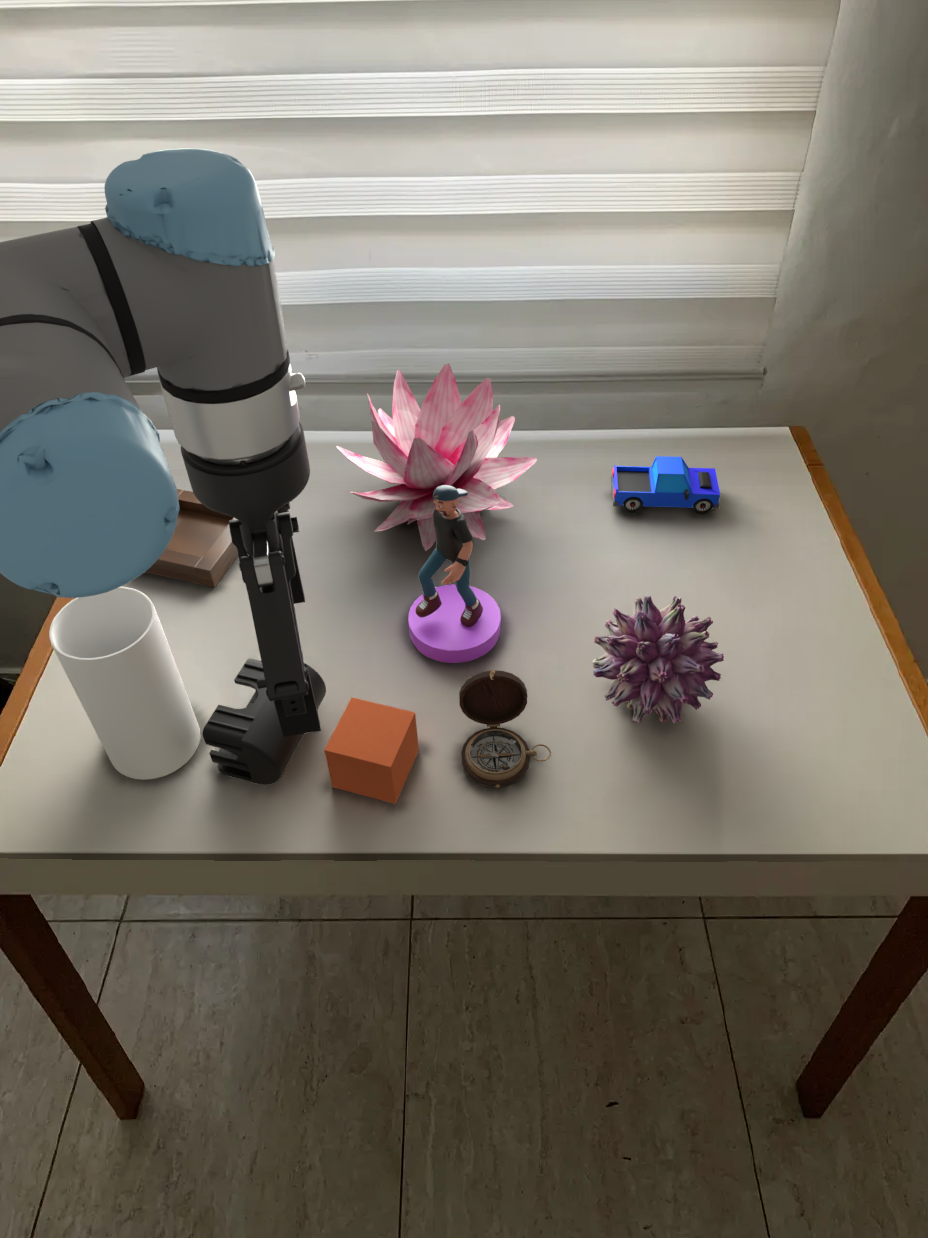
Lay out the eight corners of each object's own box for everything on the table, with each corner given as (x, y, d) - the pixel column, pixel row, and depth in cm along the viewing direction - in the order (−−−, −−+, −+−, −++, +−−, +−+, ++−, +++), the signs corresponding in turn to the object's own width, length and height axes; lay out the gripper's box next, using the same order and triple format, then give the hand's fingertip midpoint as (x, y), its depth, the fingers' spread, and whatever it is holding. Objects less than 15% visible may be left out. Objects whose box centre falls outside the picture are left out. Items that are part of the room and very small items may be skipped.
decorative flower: (403, 440, 117) (394, 331, 106) (558, 483, 110) (565, 371, 99) (311, 539, 103) (290, 426, 93) (480, 595, 96) (479, 480, 86)
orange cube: (395, 804, 79) (390, 767, 75) (331, 787, 80) (323, 750, 76) (419, 750, 83) (415, 712, 79) (357, 734, 84) (351, 696, 80)
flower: (689, 767, 83) (564, 725, 83) (702, 667, 90) (588, 629, 91) (741, 697, 74) (600, 651, 74) (750, 592, 81) (623, 551, 82)
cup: (213, 713, 86) (171, 591, 75) (179, 785, 80) (128, 666, 69) (132, 702, 87) (78, 581, 76) (93, 773, 82) (29, 653, 70)
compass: (462, 792, 79) (461, 741, 74) (459, 720, 85) (458, 668, 80) (554, 788, 79) (558, 737, 74) (545, 716, 85) (549, 664, 80)
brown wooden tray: (214, 587, 98) (209, 570, 96) (121, 567, 101) (114, 550, 99) (263, 521, 106) (259, 504, 104) (175, 503, 108) (170, 487, 107)
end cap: (286, 797, 79) (273, 751, 75) (214, 777, 81) (196, 731, 76) (331, 710, 86) (322, 663, 81) (264, 694, 88) (250, 646, 83)
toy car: (717, 519, 104) (725, 484, 101) (612, 516, 105) (616, 481, 102) (711, 484, 109) (718, 449, 105) (610, 481, 110) (614, 447, 106)
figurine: (391, 624, 94) (375, 484, 81) (461, 584, 98) (457, 444, 85) (447, 677, 89) (440, 537, 76) (519, 632, 93) (524, 491, 80)
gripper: (321, 554, 48) (363, 784, 63) (287, 326, 65) (326, 550, 80) (175, 577, 47) (253, 805, 62) (180, 339, 64) (240, 563, 79)
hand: (294, 661), depth 71 cm, fingers open, 13 cm apart
